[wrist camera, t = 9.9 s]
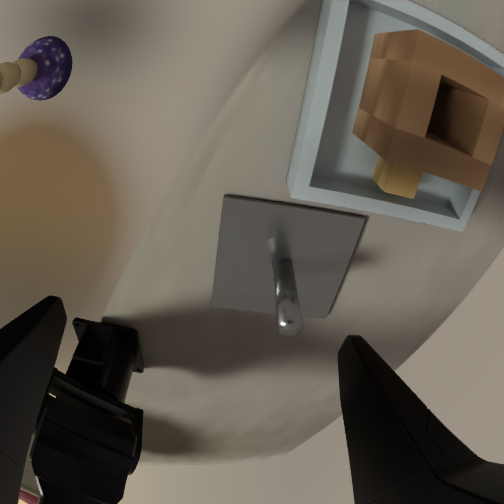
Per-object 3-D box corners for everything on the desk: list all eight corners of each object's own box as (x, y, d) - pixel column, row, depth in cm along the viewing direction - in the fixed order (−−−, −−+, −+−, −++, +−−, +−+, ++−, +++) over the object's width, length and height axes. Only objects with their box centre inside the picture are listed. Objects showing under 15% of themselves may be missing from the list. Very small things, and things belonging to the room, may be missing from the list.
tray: (446, 213, 19) (463, 232, 17) (286, 180, 18) (290, 198, 16) (492, 60, 13) (516, 64, 11) (325, -15, 12) (336, -25, 10)
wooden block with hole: (424, 191, 18) (464, 232, 14) (341, 171, 17) (369, 211, 13) (460, 71, 13) (514, 85, 9) (374, 34, 13) (418, 29, 9)
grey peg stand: (325, 314, 25) (338, 375, 20) (212, 303, 24) (203, 366, 19) (363, 216, 20) (395, 272, 15) (224, 194, 19) (213, 249, 14)
